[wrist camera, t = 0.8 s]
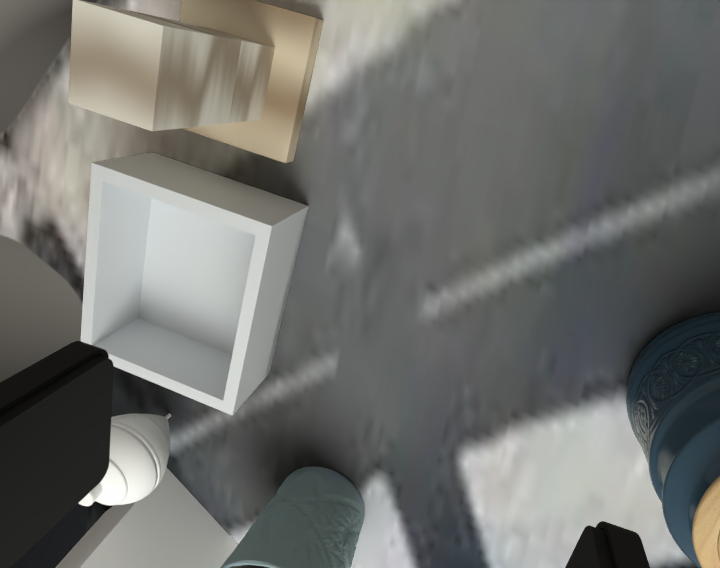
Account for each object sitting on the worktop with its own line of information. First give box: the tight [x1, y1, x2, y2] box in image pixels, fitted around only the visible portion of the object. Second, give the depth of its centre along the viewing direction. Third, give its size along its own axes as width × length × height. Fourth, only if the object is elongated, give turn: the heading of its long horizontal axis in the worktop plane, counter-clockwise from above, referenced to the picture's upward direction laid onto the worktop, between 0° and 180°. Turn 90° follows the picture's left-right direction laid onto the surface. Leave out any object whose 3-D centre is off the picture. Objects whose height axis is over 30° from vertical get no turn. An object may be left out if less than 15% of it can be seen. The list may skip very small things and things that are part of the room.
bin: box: [81, 152, 309, 416], centre depth 43 cm, size 16×14×7 cm
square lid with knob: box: [180, 0, 323, 163], centre depth 37 cm, size 10×10×6 cm
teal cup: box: [220, 466, 364, 568], centre depth 46 cm, size 10×10×12 cm
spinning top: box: [79, 413, 171, 506], centre depth 47 cm, size 8×8×12 cm
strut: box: [69, 0, 275, 131], centre depth 32 cm, size 5×5×13 cm
